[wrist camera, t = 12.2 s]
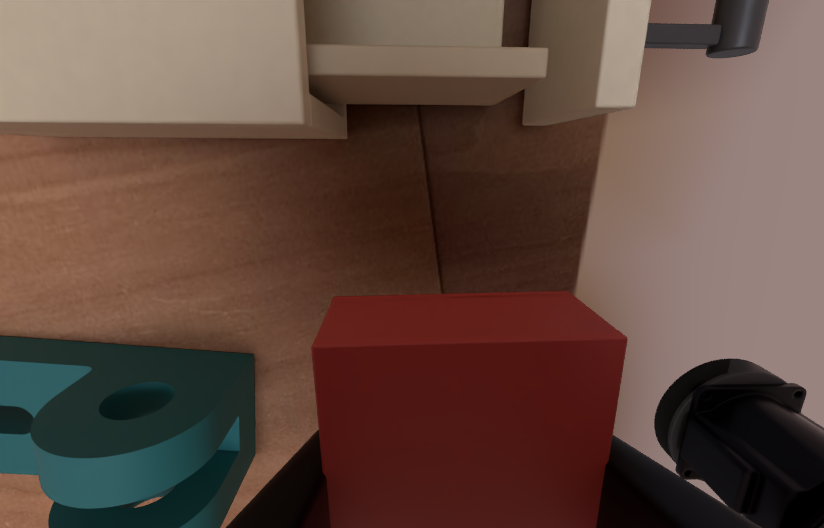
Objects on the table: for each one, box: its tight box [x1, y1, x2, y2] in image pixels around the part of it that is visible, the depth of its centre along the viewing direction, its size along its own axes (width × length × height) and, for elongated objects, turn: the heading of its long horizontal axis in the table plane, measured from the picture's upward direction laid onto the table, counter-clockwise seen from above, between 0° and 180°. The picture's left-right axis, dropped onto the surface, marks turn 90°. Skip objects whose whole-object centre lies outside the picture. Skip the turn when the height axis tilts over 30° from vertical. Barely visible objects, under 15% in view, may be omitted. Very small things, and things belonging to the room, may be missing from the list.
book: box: [311, 291, 627, 528], centre depth 7 cm, size 4×6×2 cm
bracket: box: [0, 336, 255, 528], centre depth 18 cm, size 18×7×8 cm, turn 84°
